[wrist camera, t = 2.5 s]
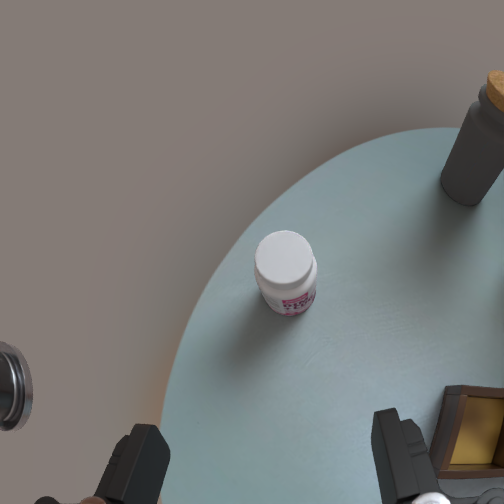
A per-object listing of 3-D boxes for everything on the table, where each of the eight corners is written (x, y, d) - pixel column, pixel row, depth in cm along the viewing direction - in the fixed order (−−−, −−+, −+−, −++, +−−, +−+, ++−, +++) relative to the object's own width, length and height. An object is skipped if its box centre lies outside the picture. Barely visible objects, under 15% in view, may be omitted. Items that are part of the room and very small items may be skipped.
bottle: (462, 214, 29) (522, 118, 16) (430, 174, 32) (470, 70, 18) (491, 194, 30) (547, 104, 16) (461, 157, 32) (501, 62, 18)
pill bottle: (291, 327, 28) (284, 304, 21) (254, 293, 30) (233, 259, 23) (327, 288, 29) (332, 252, 22) (288, 257, 31) (280, 213, 23)
